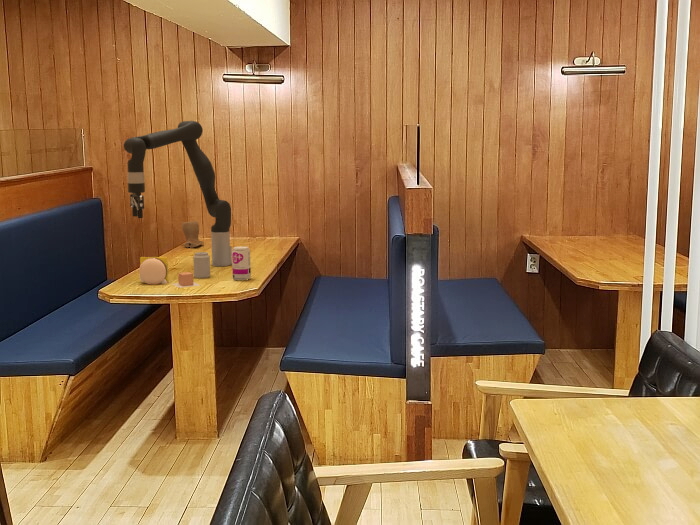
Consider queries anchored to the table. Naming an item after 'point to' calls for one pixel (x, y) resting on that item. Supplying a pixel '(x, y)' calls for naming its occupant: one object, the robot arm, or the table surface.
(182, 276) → the block
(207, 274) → the can
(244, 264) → the supplement can
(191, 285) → the pad
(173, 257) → the table surface
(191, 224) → the brown boot
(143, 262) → the hamburger
